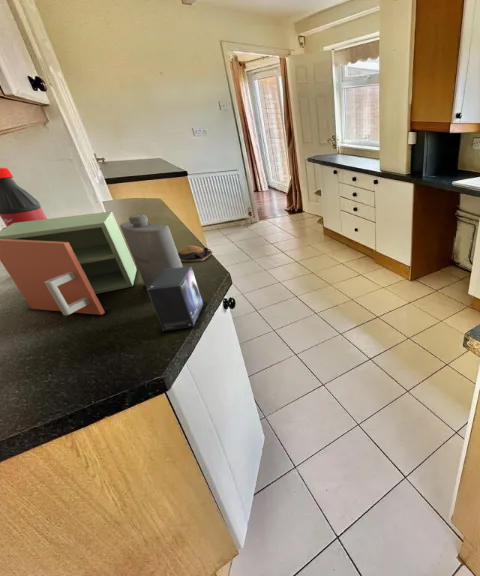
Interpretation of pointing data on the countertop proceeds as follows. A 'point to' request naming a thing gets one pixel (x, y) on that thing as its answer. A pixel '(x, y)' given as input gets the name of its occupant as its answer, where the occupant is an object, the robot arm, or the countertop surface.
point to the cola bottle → (17, 202)
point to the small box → (176, 298)
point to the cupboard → (85, 246)
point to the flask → (150, 247)
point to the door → (49, 276)
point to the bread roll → (193, 253)
